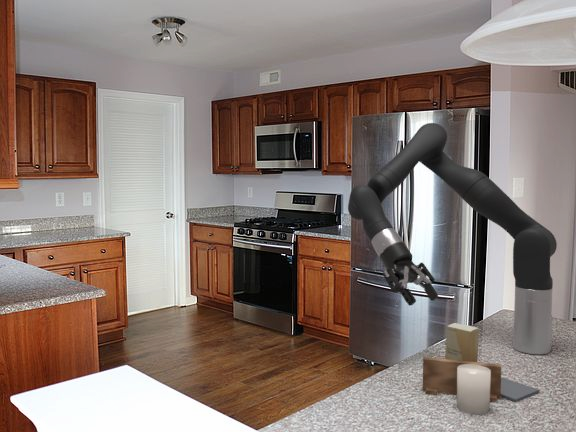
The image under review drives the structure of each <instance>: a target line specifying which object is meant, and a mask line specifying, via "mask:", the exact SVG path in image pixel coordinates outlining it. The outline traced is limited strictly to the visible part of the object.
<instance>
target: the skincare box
mask: <svg viewBox="0 0 576 432" xmlns="http://www.w3.org/2000/svg"><path fill="white" fill-rule="evenodd" d="M445 334H446V336H445V357H444V359H448V360H458V361H468V362H478V355H479V354H478V353H479V352H478V351H479V337H480V327H475V326H472V325H468V324H462V323H458V322H454V323H450V324H449V325H448V324H447V325H446V333H445Z"/></svg>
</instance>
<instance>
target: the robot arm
mask: <svg viewBox="0 0 576 432" xmlns="http://www.w3.org/2000/svg"><path fill="white" fill-rule="evenodd" d="M447 141H448V133H447V130H446V129H445V128H444V127H443V126H442V125H440V124H439V123H435V122H430V123H429V122H428V123H425V124H423V125H422V126H420V128H418V130H417V131H416V133H415V134H414V135H413V136H412V138H410V139H409V141H408V142H407V144H405V146H404V147H403V148H402V149H401V150H400V151H399V152H398V153H397V154H396V155H395V156H393V158H391V160H390V161H389V162H387V163H386V164H385V165H384V166H383V167H382V168H381V169H379V170H378V171H377V172H376V173H375V174H373V175H372V177H370V179H369V180H368V183H367V184H358V185H355V187H353V188H352V190H350V194H349V198H348V199H349V200H348V204H347V210H348V213H349V215H350V217H351V218H353V219H355V220H358V221H359V220H360V221H361V220H362V227H363V231H364V233H365V235H366V236H367V238H368V239H369V241H370V242H371V244H372V247H373V249H374V251H375V252H376V254H377V256H378V257H379V259H380V261H381V262H382V264H383V265H384V267H385V270H384V272H382V276H383V278H384V279H385V281H386V283H387V285H388V287H389V288H390V290H391V292H393V293H396V292H397V293H398V294H400V295H401V297H402V298H403V299H404V301H405V303H407V305H408V306H409V307H410V306H413V305H414V304H415V303H416V302H417V300H416V298H415V296H414V295H413V293H412V291H411V289H410V288H408V284H415V285H416V286H420V287H421V288H422V289H423V290H424V292H425V293H426V295H427V296H428V298H429V299H430V301H431V302H434V301H435V300H437V299H438V298H439V295H438V293H437V290H436V289H435V288H434V286H433V285H432V284H433V283H434V282H435V281H436V280H435V278H434V276H433V275H432V273H431V272H430V271H429V269H428V268H427V266H426V264H425V263H424V262H419V264H417V265H416V264H415V263H414V261H413V254H412V253H411V251H410V250H409V248H408V247H407V245H406V244H405V242H404V240H403V239H402V237H401V236H400V235H399V233H398V232H397V231H396V229H395V228H394V227H393V225H392V223H391V222H390V221H389V219H388V218H387V216H386V214H385V210H384V208H383V206H382V204H383V202H384V200H385V199H387V197H388V196H389V195H390V194H392V193H393V192H394V191H395V190H396V189H397V188H398V187H400V185H401V184H403V182H404V181H405V180H406V179H407V178H408V176H409V175H410V174H411V172H412V171H413V170H414V168H415V167H416V166H417V165H418V163H420V164H422V165H423V166H425V167H426V168H427V169H428V170H430V171H431V172H432V173H434V174H435V175H437V177H438V178H440V179H441V180H442V181H443V182H444V183H445V184H446V185H448V186H449V187H450V189H452V190H453V191H454V192H455V193H456V194H457V195H458V196H460V198H461V199H462V200H464V202H465V203H466V204H468V205H469V207H471V208H472V209H473V210H474V211H475V212H476V213H478V214H479V215H481V216H482V217H484V218H486V219H488V220H489V221H491V222H493V223H494V224H496V225H497V226H498V227H500V228H502V229H503V230H504V231H505V232H506V233H507V234H509V236H510V237H511V238H513V240H514V241H513V247H512V264H513V265H512V273H513V277H514V278H513V279H514V283H515V284H514V311H513V315H514V316H513V340H512V341H513V342H512V346H513V349H514V350H516V351H518V352H521V353H525V354H529V355H546V354H550V352H551V349H552V336H553V334H552V333H553V315H552V312H553V311H552V310H553V306H552V305H553V285H554V283H553V281H554V279H553V277H552V276H551V257H552V256H553V255H554V254H555V253H556V251H557V247H558V246H557V245H558V244H557V240H556V238H555V235H554V234H553V232H552V231H550V230H549V229H548V228H547V227H545V226H543V225H542V224H541V223H539V222H538V221H537V220H535V219H534V218H532V217H531V216H530V215H529V214H527V213H526V212H525V211H524V210H523V209H522V208H520V207H519V206H518V205H517V203H516V202H514V201H513V200H512V199H511V198H510V196H508V195H507V194H506V193H505V192H504V191H503V190H502V189H501V188H500V187H499V186H498V185H497V184H496V183H495V182H494V181H493V180H491V178H489V177H488V175H486V174H485V173H484V172H482V171H480V170H477V169H474V168H470V167H467V166H462V165H460V164H458V163H456V162H455V161H454V160H452V159H451V158H450V157H449V156H448V155H447V154H446V153H445V152H444V149H445V147H446V145H447Z"/></svg>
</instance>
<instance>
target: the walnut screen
mask: <svg viewBox="0 0 576 432" xmlns="http://www.w3.org/2000/svg"><path fill="white" fill-rule="evenodd" d="M463 364H476V365H481V366H484V367H487V368H488V369H490V370H491V380H490V403H491V402H492V403H498V400H501V398H502V397H501V378H502V365H501V364H498V363H497V364H495V363H486V362H478V361H477V362H468V361H458V360H448V359H445V358H436V357H426V356H423V358H422V391H424V392H425V395H432V396H433V395H434V396H438V393H443V394H450V395H457V367H458V366H459V365H463Z"/></svg>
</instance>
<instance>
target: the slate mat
mask: <svg viewBox="0 0 576 432" xmlns="http://www.w3.org/2000/svg"><path fill="white" fill-rule="evenodd" d="M538 393H540V389H538V388H536V387H532V386H531V385H530V386H529V385H528V384H527V385H525V384H523V383H520V382H517V381H514V380H511V379H508V378H505V377H503V376H501V398H503V399H506V400H508V401H511V402H514V403H518V402H520V401H523V400H525V399H527V398H529V397H531V396H534V395H536V394H538Z"/></svg>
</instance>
